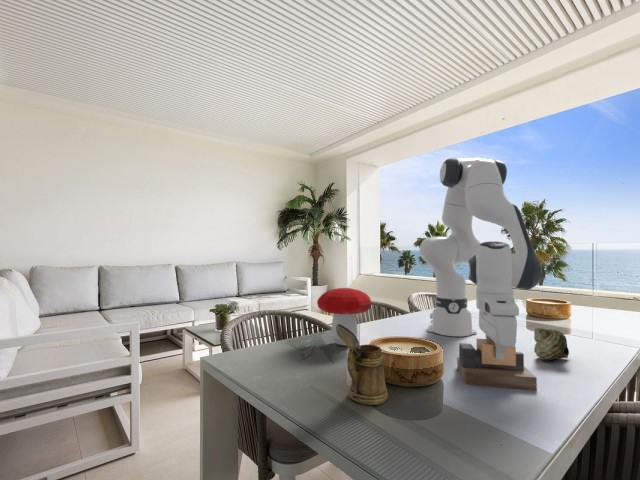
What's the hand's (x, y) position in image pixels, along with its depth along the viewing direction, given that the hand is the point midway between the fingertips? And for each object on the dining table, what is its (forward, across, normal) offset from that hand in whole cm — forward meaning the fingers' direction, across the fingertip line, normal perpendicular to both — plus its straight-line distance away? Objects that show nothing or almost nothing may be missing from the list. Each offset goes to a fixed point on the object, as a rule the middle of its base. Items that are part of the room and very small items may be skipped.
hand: (495, 355), depth 89 cm
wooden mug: (+6, +20, -34) cm, 40 cm away
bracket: (+6, 0, 0) cm, 6 cm away
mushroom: (+6, -22, -44) cm, 49 cm away
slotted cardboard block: (+2, 0, 0) cm, 2 cm away
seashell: (+6, -19, +22) cm, 29 cm away
